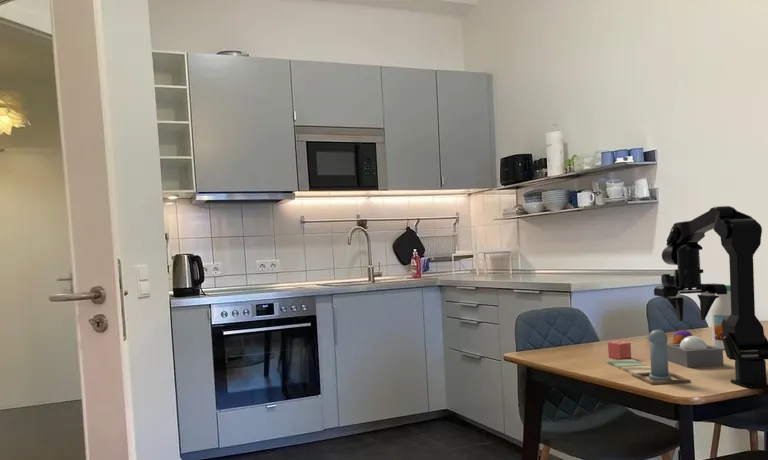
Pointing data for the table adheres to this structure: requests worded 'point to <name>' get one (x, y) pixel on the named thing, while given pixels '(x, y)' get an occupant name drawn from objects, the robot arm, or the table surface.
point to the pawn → (658, 356)
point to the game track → (643, 371)
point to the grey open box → (695, 356)
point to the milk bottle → (720, 317)
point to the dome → (693, 343)
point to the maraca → (680, 336)
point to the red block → (619, 350)
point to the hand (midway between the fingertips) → (691, 320)
